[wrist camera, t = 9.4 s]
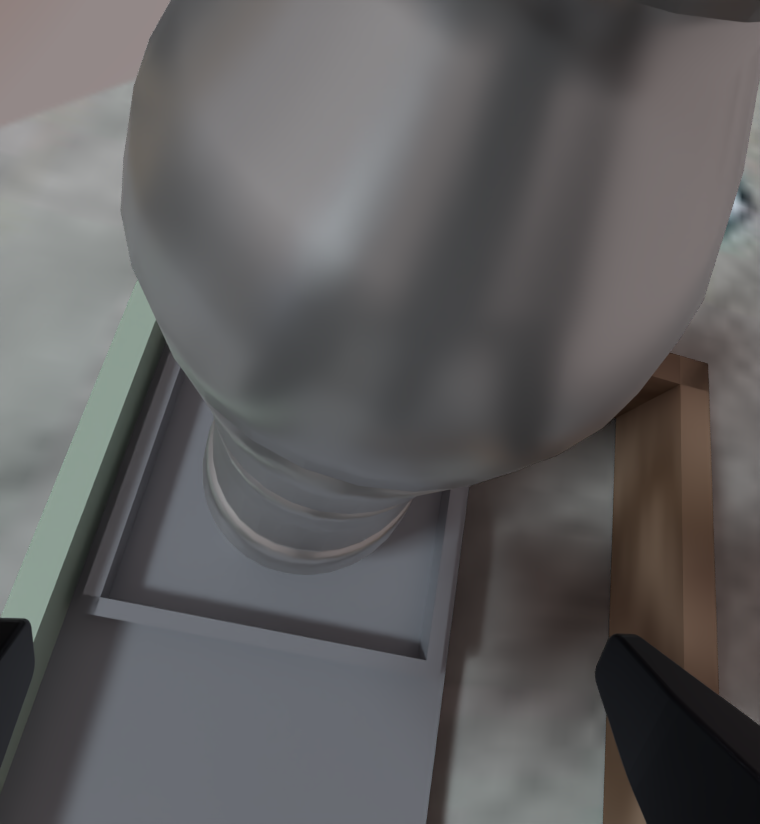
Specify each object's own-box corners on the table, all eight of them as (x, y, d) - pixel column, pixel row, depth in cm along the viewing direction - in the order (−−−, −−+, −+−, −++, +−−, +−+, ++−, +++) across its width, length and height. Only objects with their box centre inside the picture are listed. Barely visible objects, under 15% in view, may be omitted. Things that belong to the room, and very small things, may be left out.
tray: (378, 1114, 15) (404, 1215, 13) (-139, 1074, 14) (-229, 1181, 11) (475, 389, 23) (503, 361, 21) (156, 304, 22) (144, 262, 19)
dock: (628, 1210, 16) (741, 1388, 12) (157, 1183, 14) (125, 1382, 11) (641, 399, 25) (707, 363, 22) (355, 321, 24) (375, 267, 20)
